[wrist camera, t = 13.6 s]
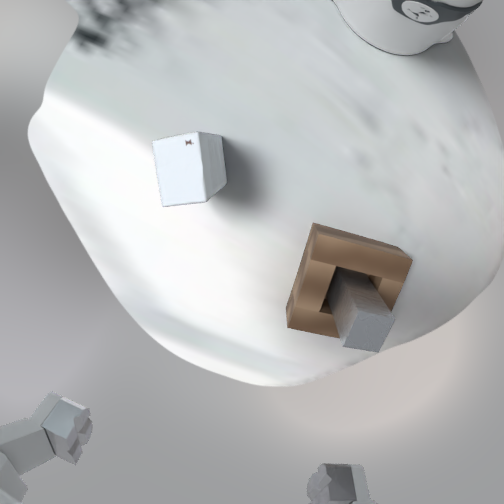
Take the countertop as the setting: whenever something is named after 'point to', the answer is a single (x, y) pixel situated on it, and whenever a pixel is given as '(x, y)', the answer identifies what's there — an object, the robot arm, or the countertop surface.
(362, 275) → the metal peg
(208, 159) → the skincare box
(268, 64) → the countertop surface
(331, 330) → the walnut socket block
